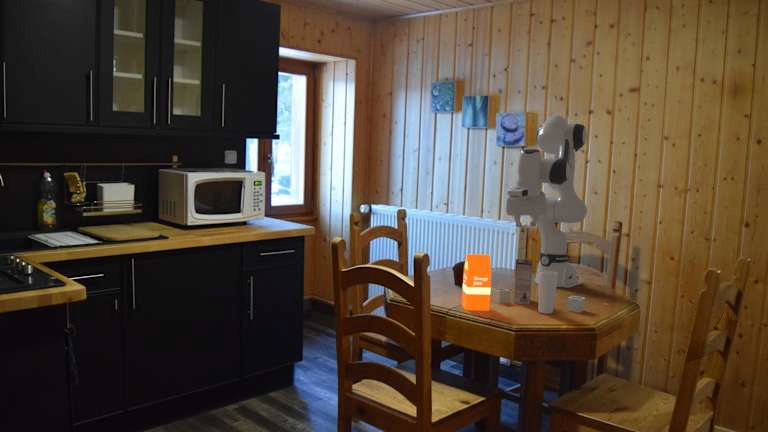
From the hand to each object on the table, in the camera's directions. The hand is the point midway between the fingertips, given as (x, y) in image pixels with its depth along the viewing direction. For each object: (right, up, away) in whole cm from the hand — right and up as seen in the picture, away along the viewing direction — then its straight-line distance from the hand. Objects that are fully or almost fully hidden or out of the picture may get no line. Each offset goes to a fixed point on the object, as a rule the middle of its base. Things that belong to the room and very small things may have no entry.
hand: (525, 226), depth 252 cm
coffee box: (-1, -30, +3) cm, 30 cm away
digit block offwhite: (+17, -31, -8) cm, 37 cm away
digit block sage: (-10, -29, +1) cm, 31 cm away
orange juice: (-21, -30, -10) cm, 38 cm away
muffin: (-20, -26, +31) cm, 45 cm away
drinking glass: (+4, -31, -13) cm, 34 cm away
